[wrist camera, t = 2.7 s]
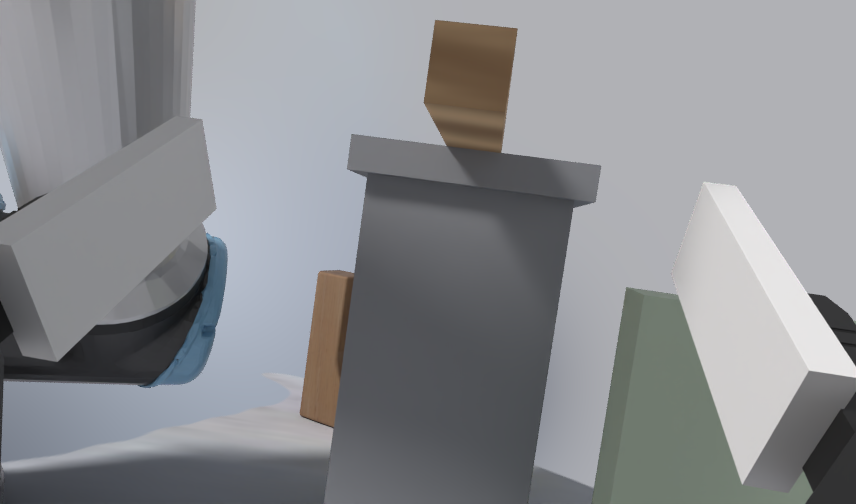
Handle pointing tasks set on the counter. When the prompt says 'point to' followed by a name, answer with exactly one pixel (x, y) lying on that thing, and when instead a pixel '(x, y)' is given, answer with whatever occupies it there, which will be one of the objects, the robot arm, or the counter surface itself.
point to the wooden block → (326, 346)
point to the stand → (450, 322)
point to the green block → (667, 419)
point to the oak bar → (470, 83)
